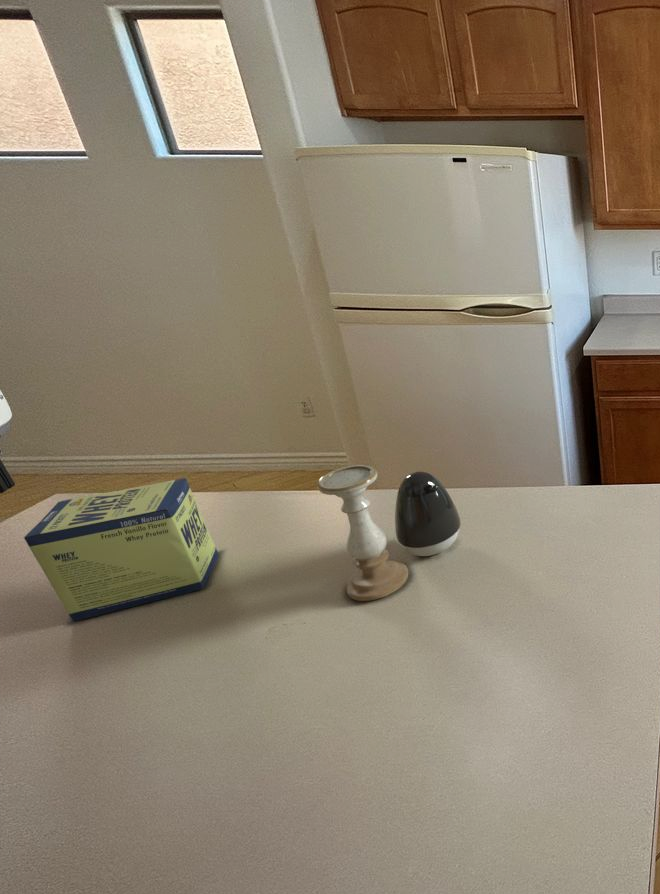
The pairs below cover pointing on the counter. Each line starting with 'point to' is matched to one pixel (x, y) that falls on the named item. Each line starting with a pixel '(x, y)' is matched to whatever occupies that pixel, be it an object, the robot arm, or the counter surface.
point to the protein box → (124, 548)
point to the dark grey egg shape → (425, 515)
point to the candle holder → (364, 535)
